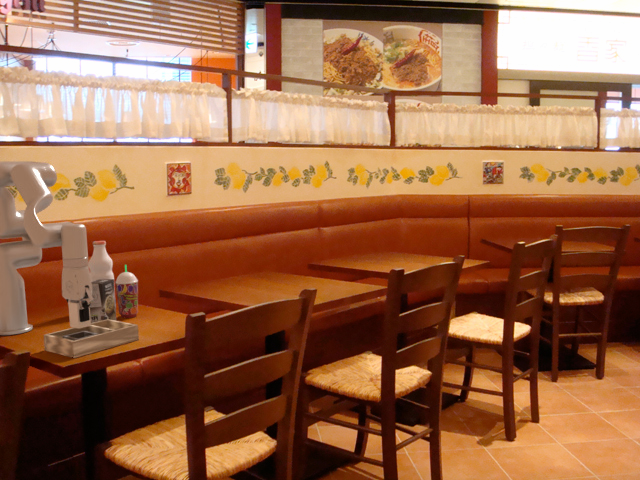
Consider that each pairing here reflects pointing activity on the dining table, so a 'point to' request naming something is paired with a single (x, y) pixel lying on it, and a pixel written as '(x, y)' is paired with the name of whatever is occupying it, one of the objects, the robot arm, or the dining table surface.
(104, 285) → the coffee box
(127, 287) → the smoothie
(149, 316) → the dining table surface
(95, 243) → the white milk bottle
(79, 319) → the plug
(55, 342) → the caddy
